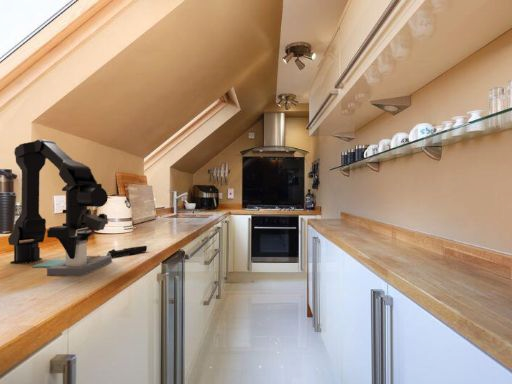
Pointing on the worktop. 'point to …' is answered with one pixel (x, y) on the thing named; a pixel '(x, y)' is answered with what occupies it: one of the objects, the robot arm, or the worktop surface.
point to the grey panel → (91, 265)
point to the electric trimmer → (127, 251)
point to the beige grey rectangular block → (78, 254)
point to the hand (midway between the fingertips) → (76, 257)
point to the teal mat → (50, 263)
